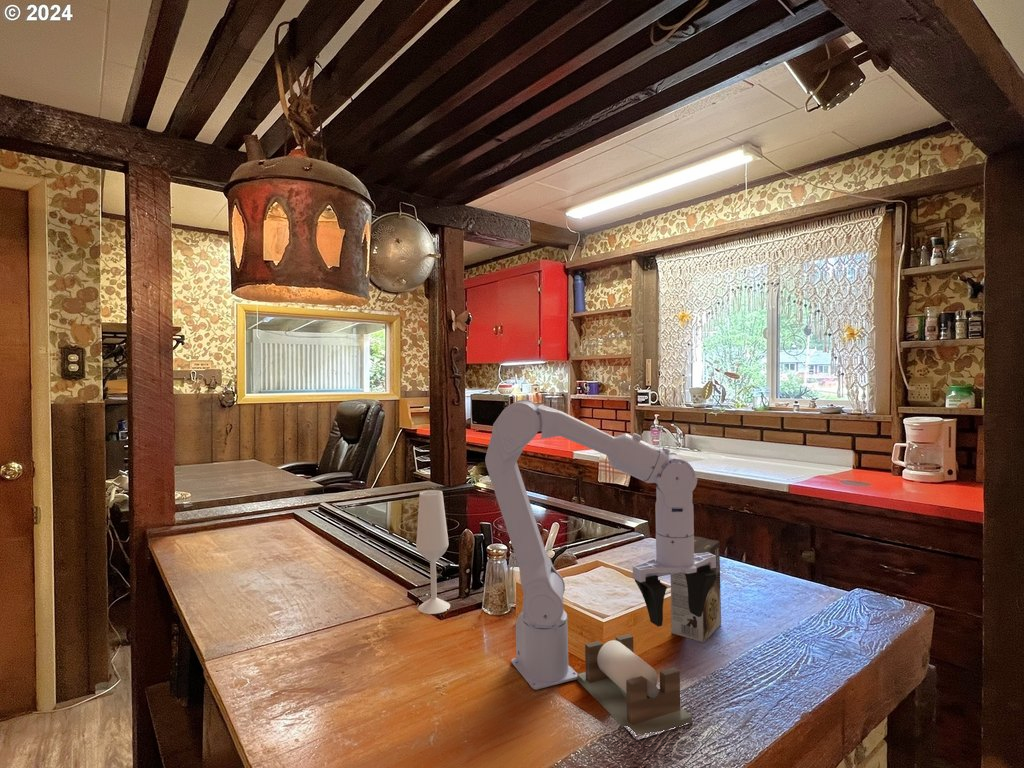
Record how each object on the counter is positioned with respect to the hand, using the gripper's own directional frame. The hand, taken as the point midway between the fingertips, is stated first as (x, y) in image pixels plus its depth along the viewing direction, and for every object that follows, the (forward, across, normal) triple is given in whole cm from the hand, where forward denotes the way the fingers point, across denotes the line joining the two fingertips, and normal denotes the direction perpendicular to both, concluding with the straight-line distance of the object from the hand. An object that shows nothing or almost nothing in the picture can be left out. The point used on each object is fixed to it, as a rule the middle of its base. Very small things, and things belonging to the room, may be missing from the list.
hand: (676, 618), depth 88 cm
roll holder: (+9, -10, -2) cm, 14 cm away
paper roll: (+5, -11, -2) cm, 12 cm away
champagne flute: (+10, -28, +43) cm, 52 cm away
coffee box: (+10, +14, +12) cm, 21 cm away
